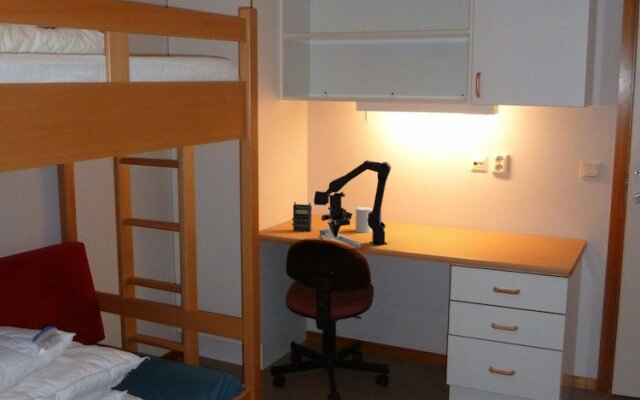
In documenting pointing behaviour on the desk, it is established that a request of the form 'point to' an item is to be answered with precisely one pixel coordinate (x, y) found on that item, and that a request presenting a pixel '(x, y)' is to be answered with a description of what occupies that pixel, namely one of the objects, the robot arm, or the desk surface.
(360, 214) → the cup
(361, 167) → the robot arm
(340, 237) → the rail board
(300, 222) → the geiger counter
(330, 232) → the block
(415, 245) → the desk surface
